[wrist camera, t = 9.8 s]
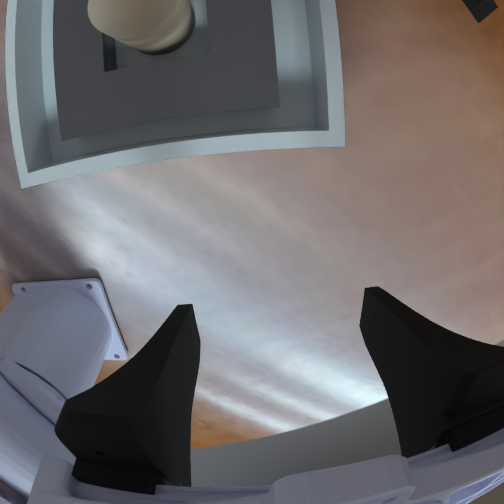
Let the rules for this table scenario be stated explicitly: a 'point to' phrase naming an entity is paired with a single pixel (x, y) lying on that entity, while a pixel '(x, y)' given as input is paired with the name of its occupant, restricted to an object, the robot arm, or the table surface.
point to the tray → (178, 128)
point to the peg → (145, 23)
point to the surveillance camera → (480, 8)
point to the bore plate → (162, 70)
